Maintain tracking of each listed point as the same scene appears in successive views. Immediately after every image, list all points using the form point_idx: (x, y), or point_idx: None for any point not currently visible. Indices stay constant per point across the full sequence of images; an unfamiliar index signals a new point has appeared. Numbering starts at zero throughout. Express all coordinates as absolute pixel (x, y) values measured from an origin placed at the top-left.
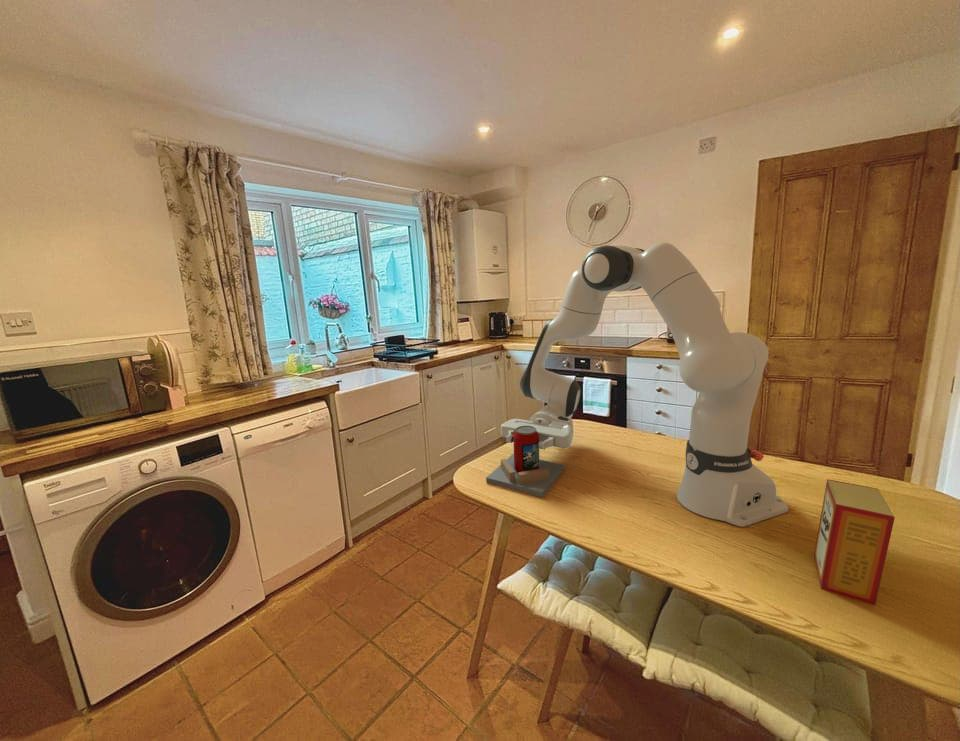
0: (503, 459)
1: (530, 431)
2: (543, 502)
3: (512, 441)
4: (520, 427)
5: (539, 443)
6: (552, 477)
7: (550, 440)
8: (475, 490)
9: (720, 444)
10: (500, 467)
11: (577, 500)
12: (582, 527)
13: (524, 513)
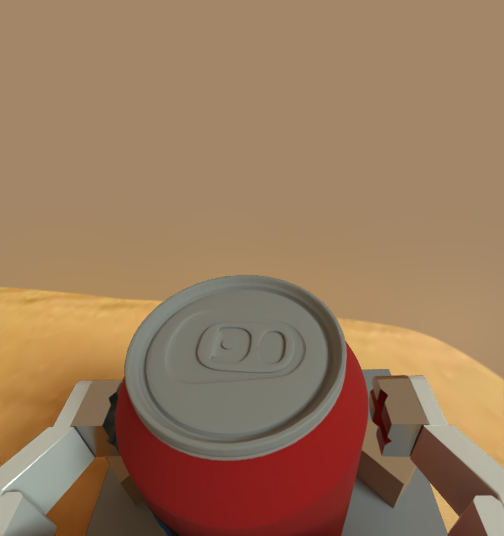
0: (406, 466)
1: (182, 336)
2: None
3: (379, 429)
4: (328, 381)
5: (118, 381)
6: (103, 512)
7: (7, 466)
8: (375, 332)
9: None
10: (415, 487)
11: (16, 425)
12: (37, 320)
13: None
